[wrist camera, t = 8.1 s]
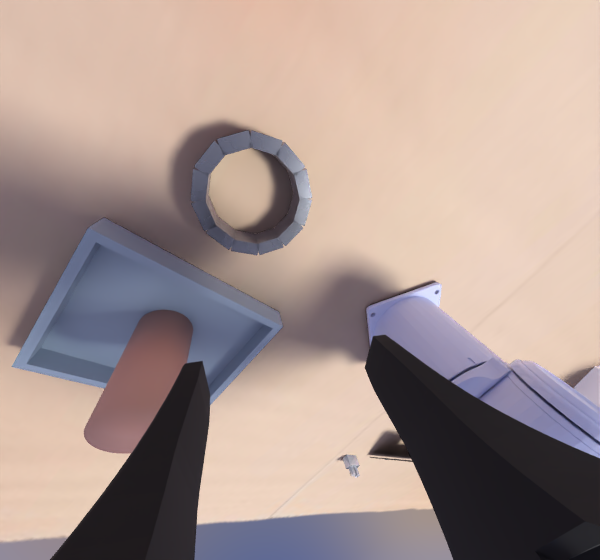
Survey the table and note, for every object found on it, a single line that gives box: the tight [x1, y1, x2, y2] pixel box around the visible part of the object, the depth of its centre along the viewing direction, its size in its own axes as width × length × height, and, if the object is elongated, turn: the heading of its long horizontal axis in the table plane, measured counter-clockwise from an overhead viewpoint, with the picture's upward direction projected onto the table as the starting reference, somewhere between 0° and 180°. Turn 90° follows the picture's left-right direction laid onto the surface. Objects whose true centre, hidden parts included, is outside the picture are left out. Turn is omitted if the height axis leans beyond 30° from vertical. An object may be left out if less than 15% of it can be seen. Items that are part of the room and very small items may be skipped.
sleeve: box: [191, 130, 312, 255], centre depth 15 cm, size 7×7×2 cm
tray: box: [12, 218, 283, 405], centre depth 19 cm, size 14×12×2 cm
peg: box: [84, 310, 193, 453], centre depth 16 cm, size 4×4×8 cm
